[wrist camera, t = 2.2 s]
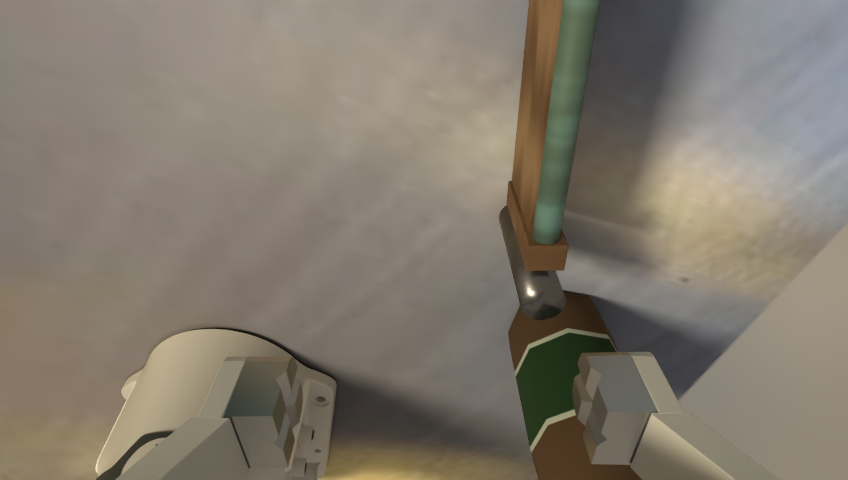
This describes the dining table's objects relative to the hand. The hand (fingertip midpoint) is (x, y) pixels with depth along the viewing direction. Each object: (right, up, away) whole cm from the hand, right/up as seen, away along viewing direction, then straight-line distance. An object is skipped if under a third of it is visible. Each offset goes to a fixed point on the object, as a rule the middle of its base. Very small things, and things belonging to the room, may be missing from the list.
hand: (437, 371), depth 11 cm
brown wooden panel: (+6, +12, +16) cm, 21 cm away
